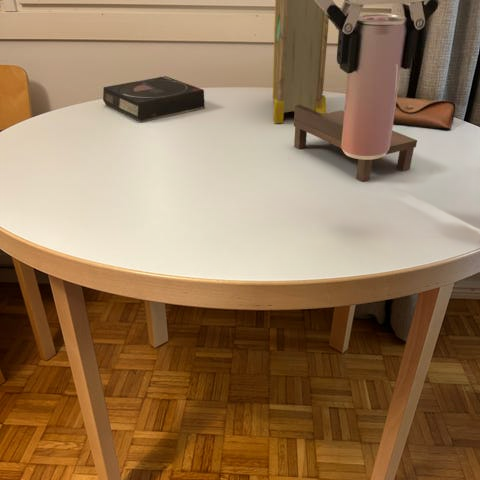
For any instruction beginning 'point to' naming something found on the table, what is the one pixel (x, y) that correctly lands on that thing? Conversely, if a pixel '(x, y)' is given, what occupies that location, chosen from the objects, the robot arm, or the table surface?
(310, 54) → the decorative book
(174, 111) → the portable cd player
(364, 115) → the beverage can
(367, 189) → the table surface
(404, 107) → the sunglasses case
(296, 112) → the wooden step stool
